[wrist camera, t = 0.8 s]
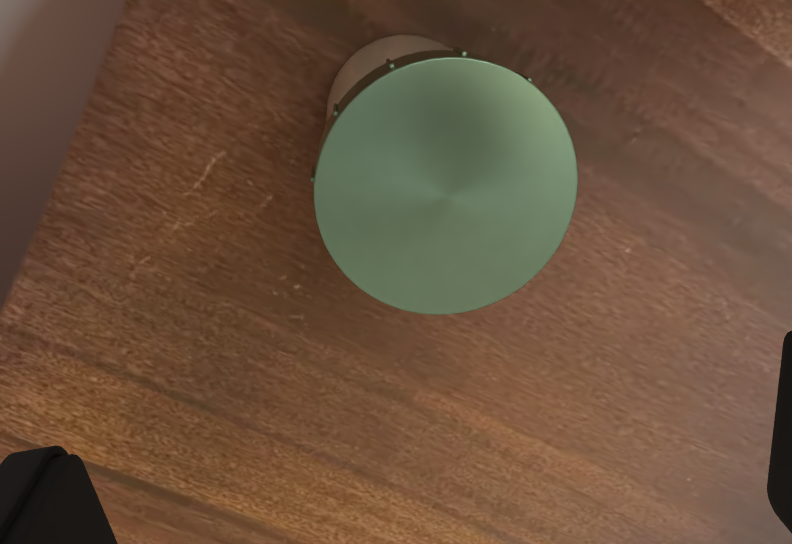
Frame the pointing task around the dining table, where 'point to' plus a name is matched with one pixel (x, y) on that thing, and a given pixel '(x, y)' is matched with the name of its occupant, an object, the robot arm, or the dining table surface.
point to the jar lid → (443, 182)
